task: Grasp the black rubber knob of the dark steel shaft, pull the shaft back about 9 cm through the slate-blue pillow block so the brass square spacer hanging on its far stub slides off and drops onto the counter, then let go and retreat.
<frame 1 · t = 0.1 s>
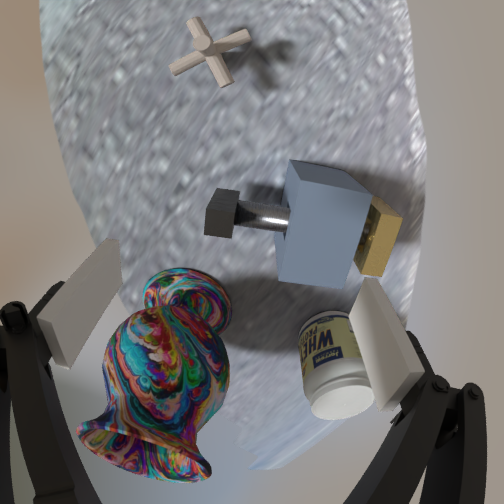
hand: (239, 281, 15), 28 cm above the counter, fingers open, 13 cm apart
pillow block: (308, 204, 42), on the counter
shaft: (306, 223, 35), point 8 cm above the counter, slide at 0.0 cm, touching spacer
spacer: (371, 233, 36), point 7 cm above the counter, touching shaft
pipe connector: (216, 58, 32), on the counter
supplement tub: (327, 331, 54), on the counter
vase: (186, 305, 51), on the counter
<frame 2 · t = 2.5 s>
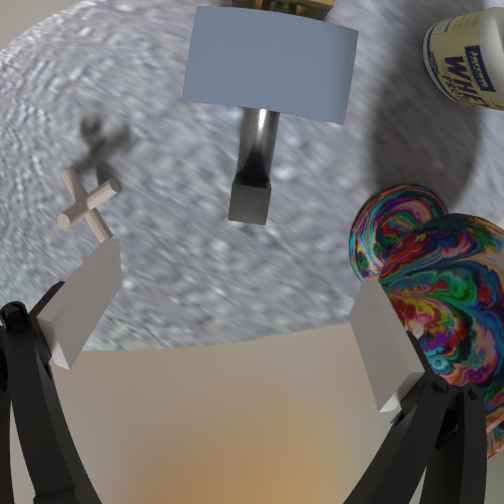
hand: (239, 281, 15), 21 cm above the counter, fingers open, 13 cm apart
pillow block: (266, 76, 28), on the counter
shaft: (266, 82, 21), point 8 cm above the counter, slide at 0.0 cm, touching spacer
pipe connector: (105, 192, 35), on the counter
supplement tub: (454, 63, 25), on the counter
vase: (401, 239, 37), on the counter
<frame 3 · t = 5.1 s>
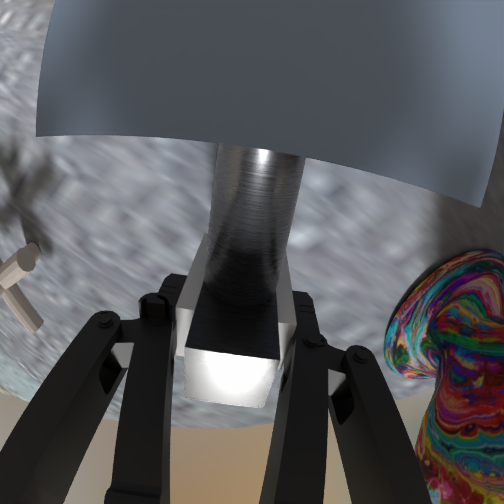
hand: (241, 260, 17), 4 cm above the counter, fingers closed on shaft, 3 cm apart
pillow block: (273, 62, 14), on the counter
shaft: (277, 65, 8), point 8 cm above the counter, slide at 0.0 cm, touching gripper, spacer
pipe connector: (35, 250, 21), on the counter
vase: (452, 318, 24), on the counter
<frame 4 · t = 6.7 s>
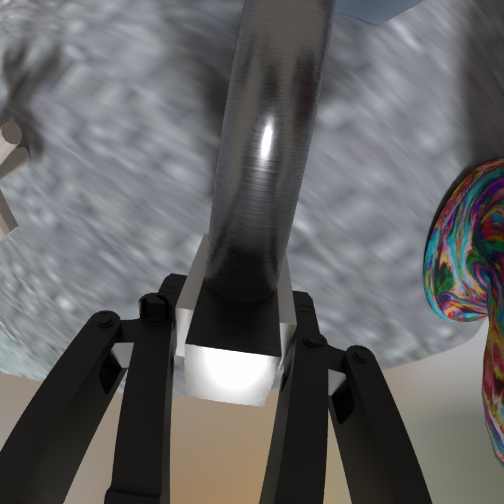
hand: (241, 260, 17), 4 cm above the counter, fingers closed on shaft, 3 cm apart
shaft: (279, 61, 8), point 8 cm above the counter, slide at 8.5 cm, touching gripper
pipe connector: (24, 156, 17), on the counter
vase: (490, 245, 20), on the counter
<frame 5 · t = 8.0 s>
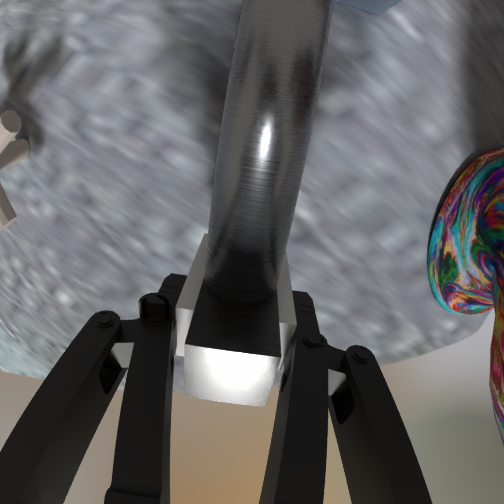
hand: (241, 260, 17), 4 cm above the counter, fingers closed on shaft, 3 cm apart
shaft: (277, 61, 8), point 8 cm above the counter, slide at 9.3 cm, touching gripper
pipe connector: (24, 148, 17), on the counter
vase: (493, 236, 19), on the counter
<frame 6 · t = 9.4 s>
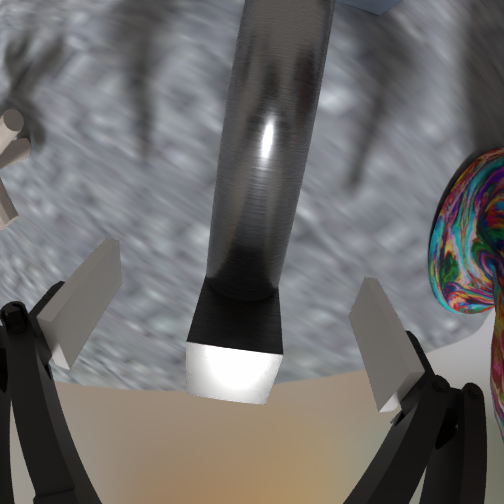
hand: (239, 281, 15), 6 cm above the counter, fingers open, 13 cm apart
shaft: (279, 61, 8), point 8 cm above the counter, slide at 9.3 cm
pipe connector: (25, 147, 17), on the counter
vase: (494, 235, 19), on the counter
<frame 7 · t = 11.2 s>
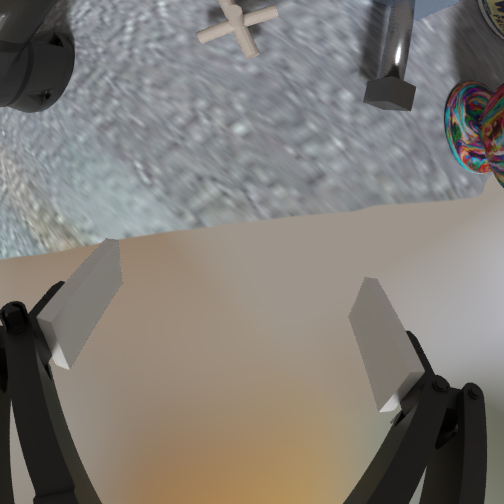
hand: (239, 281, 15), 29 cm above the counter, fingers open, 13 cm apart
shaft: (400, 26, 23), point 8 cm above the counter, slide at 9.3 cm
pipe connector: (240, 34, 31), on the counter
supplement tub: (496, 15, 22), on the counter
vase: (477, 127, 34), on the counter
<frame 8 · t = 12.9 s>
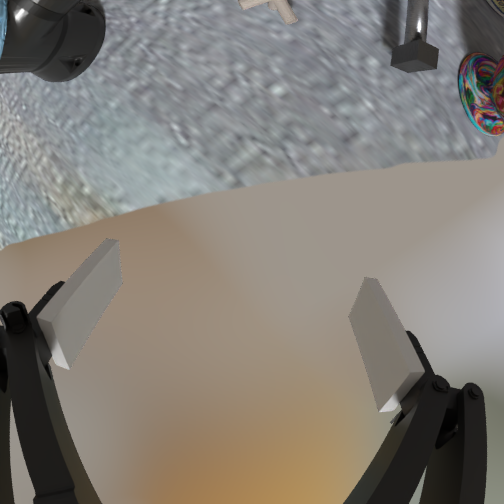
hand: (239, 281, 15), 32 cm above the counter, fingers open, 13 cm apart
shaft: (418, 0, 22), point 8 cm above the counter, slide at 9.3 cm
pipe connector: (273, 5, 31), on the counter
vase: (487, 94, 33), on the counter
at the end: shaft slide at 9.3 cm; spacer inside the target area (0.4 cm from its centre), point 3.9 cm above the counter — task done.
